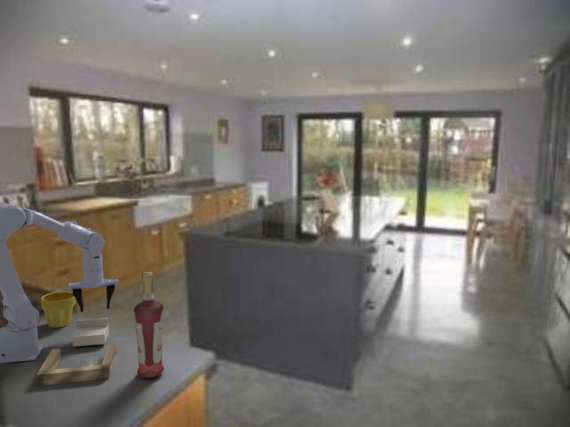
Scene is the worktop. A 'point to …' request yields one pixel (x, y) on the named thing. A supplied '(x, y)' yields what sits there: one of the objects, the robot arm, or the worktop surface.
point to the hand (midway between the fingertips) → (95, 309)
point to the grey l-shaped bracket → (91, 332)
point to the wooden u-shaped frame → (74, 369)
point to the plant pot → (58, 308)
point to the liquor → (149, 331)
